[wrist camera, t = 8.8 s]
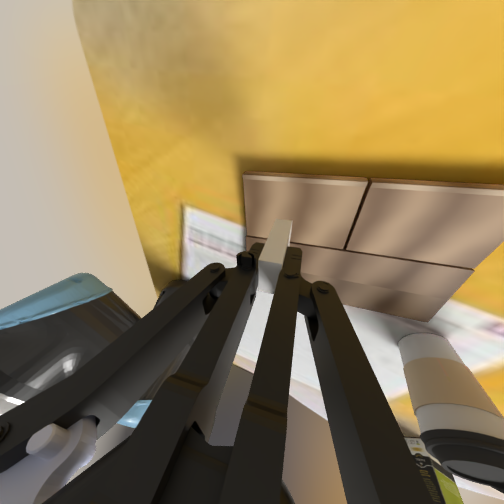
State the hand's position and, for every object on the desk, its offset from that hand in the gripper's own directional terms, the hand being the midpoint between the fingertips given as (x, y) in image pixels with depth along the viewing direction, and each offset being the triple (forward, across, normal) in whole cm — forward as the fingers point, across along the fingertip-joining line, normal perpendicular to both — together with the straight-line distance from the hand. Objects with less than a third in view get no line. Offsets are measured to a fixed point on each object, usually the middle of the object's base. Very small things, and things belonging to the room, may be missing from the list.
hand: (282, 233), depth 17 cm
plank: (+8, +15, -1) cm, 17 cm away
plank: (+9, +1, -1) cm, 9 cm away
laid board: (+9, +8, -11) cm, 16 cm away
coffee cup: (+9, +25, -23) cm, 35 cm away
